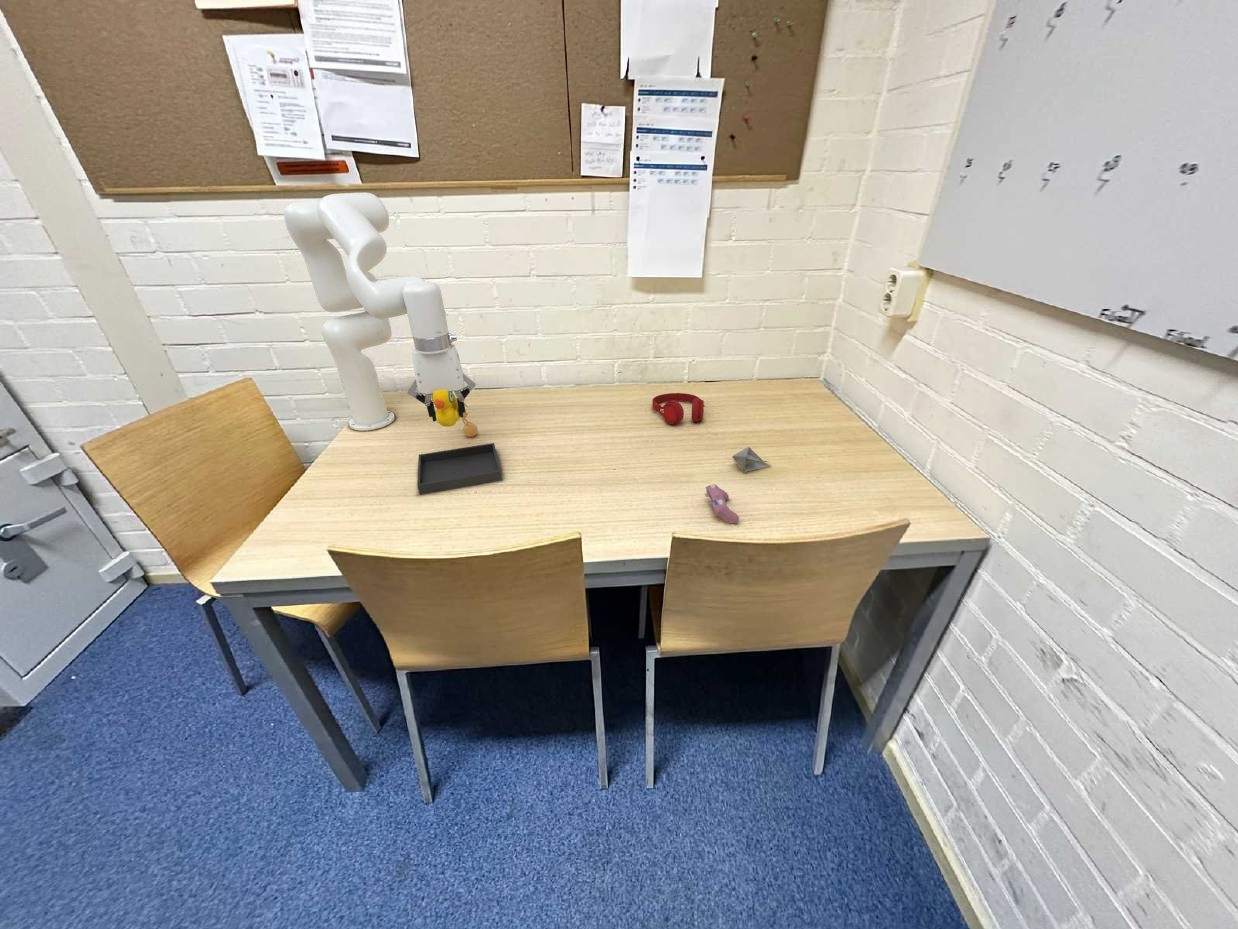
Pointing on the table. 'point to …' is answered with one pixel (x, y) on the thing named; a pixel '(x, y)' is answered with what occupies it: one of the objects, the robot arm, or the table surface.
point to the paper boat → (748, 460)
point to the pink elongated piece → (721, 503)
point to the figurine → (468, 425)
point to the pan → (458, 468)
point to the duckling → (446, 407)
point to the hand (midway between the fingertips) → (448, 416)
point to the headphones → (678, 407)
